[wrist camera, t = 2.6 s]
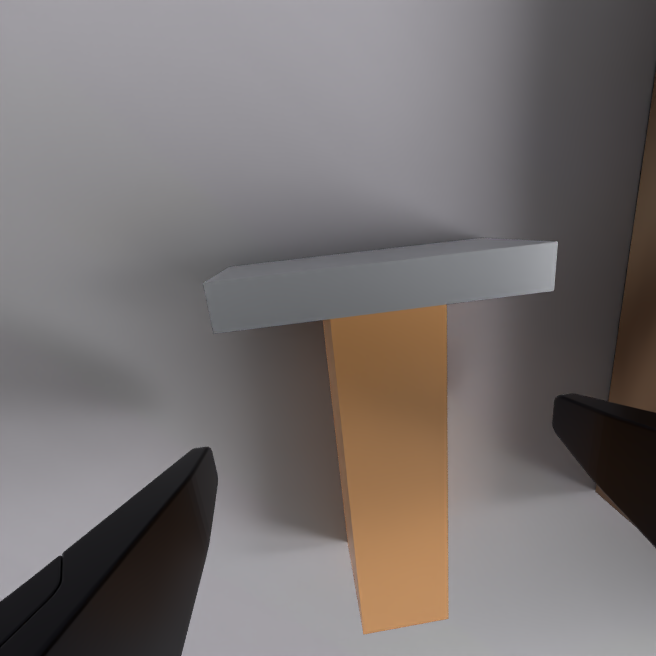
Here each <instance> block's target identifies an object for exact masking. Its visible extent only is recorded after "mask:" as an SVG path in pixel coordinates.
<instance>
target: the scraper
mask: <svg viewBox="0 0 656 656" xmlns="http://www.w3.org/2000/svg"><path fill="white" fill-rule="evenodd" d="M557 248H558V242H556V241H537V240H518V239H499V238H474V239H466V240H457V241H448V242H439V243H431V244H422V245H413V246H405V247H396V248H387V249H378V250H370V251H361V252H352V253H343V254H335V255H326V256H317V257H308V258H300V259H291V260H282V261H273V262H265V263H256V264H247V265H238V266H230V267H228V268H227V269H225V270H223V271H222V272H220V273H219V274H217V275H215V276H214V277H212V278H210V279H209V280H207V281H206V282H204V283H203V286H204V291H205V296H206V301H207V305H208V310H209V315H210V320H211V325H212V329H213V334H216V333H224V332H232V331H240V330H248V329H256V328H264V327H272V326H280V325H288V324H296V323H304V322H311V321H319V320H323V328H324V337H325V346H326V355H327V364H328V373H329V382H330V390H331V399H332V408H333V417H334V426H335V435H336V444H337V453H338V461H339V470H340V479H341V488H342V497H343V506H344V515H345V523H346V532H347V541H348V547H349V553H350V559H351V565H352V570H353V576H354V582H355V588H356V594H357V599H358V605H359V611H360V617H361V623H362V628H363V634H369V633H374V632H379V631H385V630H390V629H396V628H401V627H406V626H412V625H417V624H423V623H428V622H433V621H439V620H444V619H448V455H447V304H454V303H462V302H470V301H478V300H486V299H494V298H501V297H509V296H517V295H525V294H533V293H541V292H549V291H554V283H555V272H556V260H557Z"/></svg>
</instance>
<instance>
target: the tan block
mask: <svg viewBox="0 0 656 656" xmlns="http://www.w3.org/2000/svg"><path fill="white" fill-rule="evenodd" d="M608 402H612V403H617V404H621V405H625V406H630V407H634V408H638V409H642V410H647V411H651V412H655V413H656V74H655V81H654V87H653V94H652V101H651V108H650V115H649V122H648V129H647V136H646V143H645V150H644V157H643V164H642V171H641V178H640V185H639V192H638V199H637V206H636V213H635V220H634V227H633V234H632V240H631V247H630V254H629V261H628V268H627V275H626V282H625V289H624V296H623V303H622V310H621V317H620V324H619V331H618V338H617V345H616V352H615V359H614V366H613V373H612V380H611V386H610V393H609V400H608ZM595 492H596V493H598V494H599V495H600V496H601V497H602V498H603V499H604V500H606V501H607V502H608V503H609V504H610V505H611V506H612V507H614V508H615V509H616V510H617V511H618V512H619V513H620V514H622V515H623V516H624V517H625V518H626V519H627V520H628V521H630V520H629V519H628V518H627V517H626V516H625V515H624V514H623V512H622V511H621V510H620V509H619V508H618V507H617V506H616V505H615V504H614V503H613V502H612V501H611V500H610V499H609V497H608V496H607V495H606V494H605V493H604V492H603V491H602V490H601V489H600V488H599V487H598V485H597V484H596V491H595ZM630 522H631V521H630ZM631 523H632V522H631ZM632 524H633V523H632ZM633 525H634V524H633ZM634 526H635V525H634ZM635 527H636V526H635ZM636 528H637V527H636Z"/></svg>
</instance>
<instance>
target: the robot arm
mask: <svg viewBox="0 0 656 656" xmlns="http://www.w3.org/2000/svg"><path fill="white" fill-rule="evenodd" d="M552 425H553V429H554V431H555V433H556V434H557V435H558V437H559V438H560V439H561V441H562V442H563V443H564V444H565V446H566V447H567V448H568V449H569V451H570V452H571V453H572V454H573V456H574V457H575V458H576V460H577V461H578V462H579V463H580V465H581V466H582V467H583V468H584V470H585V471H586V472H587V474H588V475H589V476H590V477H591V478H592V480H593V481H594V482H595V483H596V484H597V485H598V487H599V488H600V489H601V490H602V491H603V492H604V493H605V494H606V495H607V496H608V497H609V499H610V500H611V501H612V502H613V503H614V504H615V505H616V506H617V507H618V508H619V509H620V510H621V511H622V512H623V514H624V515H625V516H626V517H627V518H628V519H629V520H630V521H631V522H632V523H633V524H634V525H635V526H636V527H637V529H638V530H639V531H640V532H641V533H642V534H643V535H644V536H645V537H646V538H647V539H648V540H649V541H650V542H651V543H652V545H653V546H654V547H655V548H656V413H655V412H651V411H647V410H642V409H638V408H634V407H630V406H625V405H621V404H617V403H612V402H608V401H604V400H600V399H595V398H591V397H587V396H582V395H578V394H564V395H559V396H557V397H556V398H555V400H554V409H553V420H552ZM217 486H218V475H217V470H216V466H215V462H214V458H213V453H212V450H211V448H209V447H201V448H194V449H192V450H191V451H189V452H188V453H187V454H186V455H184V456H183V457H182V458H181V459H179V460H178V461H177V462H176V463H174V464H173V465H172V466H171V467H169V468H168V469H167V470H166V471H164V472H163V473H162V474H161V475H159V476H158V477H157V478H156V479H154V480H153V481H152V482H151V483H149V484H148V485H147V486H146V487H144V488H143V489H142V490H141V491H139V492H138V493H137V494H136V495H134V496H133V497H132V498H131V499H129V500H128V501H127V502H126V503H124V504H123V505H122V506H121V507H119V508H118V509H117V510H116V511H114V512H113V513H112V514H111V515H109V516H108V517H107V518H106V519H104V520H103V521H102V522H101V523H99V524H98V525H97V526H96V527H94V528H93V529H92V530H91V531H89V532H88V533H87V534H86V535H84V536H83V537H82V538H81V539H79V540H78V541H77V542H76V543H74V544H73V545H72V546H71V547H69V548H68V549H67V550H66V551H64V552H63V554H62V556H58V557H57V558H55V559H54V560H53V561H52V562H51V563H49V564H48V565H47V566H46V567H44V568H43V569H42V570H41V571H39V572H38V573H37V574H36V575H34V576H33V577H32V578H30V579H29V580H28V581H27V582H25V583H24V584H23V585H21V586H20V587H19V588H18V589H16V590H15V591H14V592H12V593H11V594H10V595H9V596H7V597H6V598H5V599H3V600H2V601H1V602H0V656H181V655H182V651H183V647H184V643H185V639H186V635H187V631H188V627H189V623H190V619H191V615H192V611H193V607H194V603H195V599H196V595H197V591H198V588H199V584H200V580H201V576H202V572H203V568H204V564H205V560H206V556H207V552H208V547H209V542H210V536H211V529H212V521H213V514H214V507H215V500H216V493H217Z"/></svg>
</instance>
